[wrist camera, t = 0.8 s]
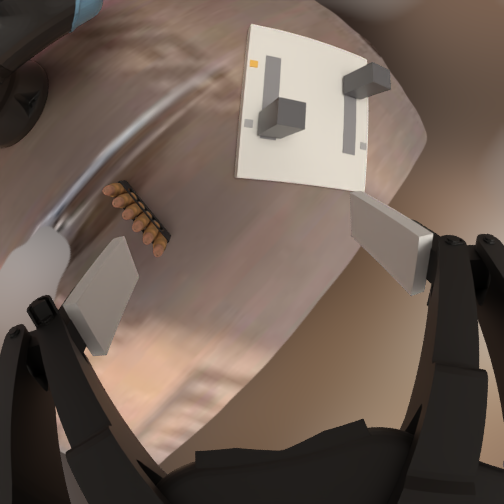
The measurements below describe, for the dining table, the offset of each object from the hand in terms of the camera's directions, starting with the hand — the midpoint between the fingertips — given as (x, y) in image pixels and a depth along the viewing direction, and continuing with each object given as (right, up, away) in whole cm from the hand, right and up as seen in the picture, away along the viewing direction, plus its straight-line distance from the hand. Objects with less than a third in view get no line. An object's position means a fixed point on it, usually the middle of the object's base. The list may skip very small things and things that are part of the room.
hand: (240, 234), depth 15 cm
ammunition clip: (-15, +5, +22) cm, 27 cm away
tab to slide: (+3, +17, +21) cm, 28 cm away
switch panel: (+10, +22, +25) cm, 35 cm away
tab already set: (+17, +27, +23) cm, 39 cm away
